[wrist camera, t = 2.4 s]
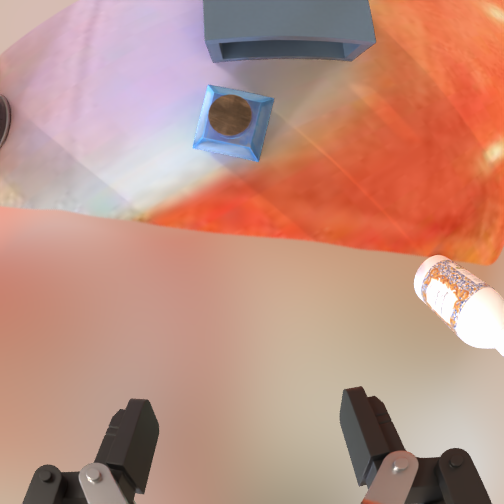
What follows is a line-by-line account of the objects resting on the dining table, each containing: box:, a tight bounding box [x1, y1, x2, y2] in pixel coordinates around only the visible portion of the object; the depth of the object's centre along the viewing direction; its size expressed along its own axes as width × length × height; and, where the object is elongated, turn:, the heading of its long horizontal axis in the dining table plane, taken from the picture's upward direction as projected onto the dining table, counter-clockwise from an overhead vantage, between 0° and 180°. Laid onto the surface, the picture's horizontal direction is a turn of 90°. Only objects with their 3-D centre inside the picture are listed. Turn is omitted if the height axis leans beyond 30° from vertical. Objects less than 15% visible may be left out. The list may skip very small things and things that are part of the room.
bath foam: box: [414, 255, 504, 357], centre depth 29 cm, size 7×7×20 cm
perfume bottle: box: [193, 85, 274, 162], centre depth 27 cm, size 6×6×12 cm
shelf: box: [203, 0, 376, 63], centre depth 25 cm, size 16×10×8 cm, turn 94°
